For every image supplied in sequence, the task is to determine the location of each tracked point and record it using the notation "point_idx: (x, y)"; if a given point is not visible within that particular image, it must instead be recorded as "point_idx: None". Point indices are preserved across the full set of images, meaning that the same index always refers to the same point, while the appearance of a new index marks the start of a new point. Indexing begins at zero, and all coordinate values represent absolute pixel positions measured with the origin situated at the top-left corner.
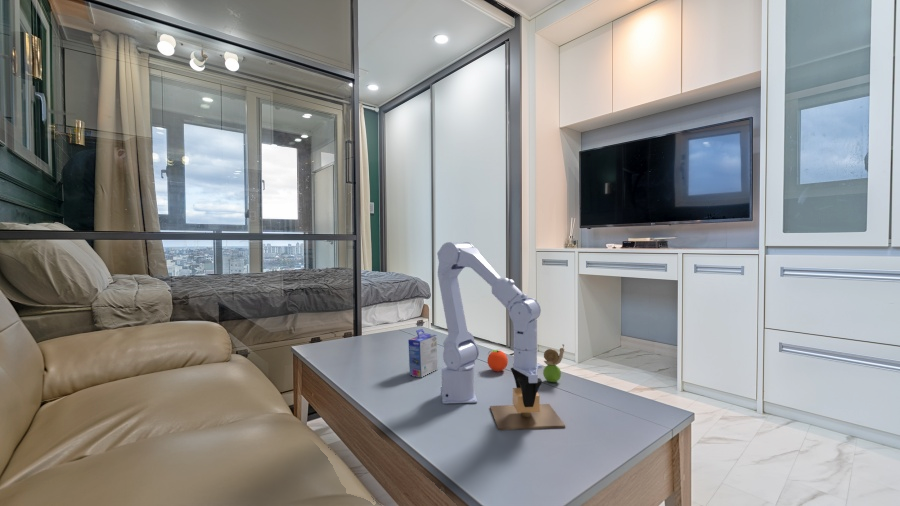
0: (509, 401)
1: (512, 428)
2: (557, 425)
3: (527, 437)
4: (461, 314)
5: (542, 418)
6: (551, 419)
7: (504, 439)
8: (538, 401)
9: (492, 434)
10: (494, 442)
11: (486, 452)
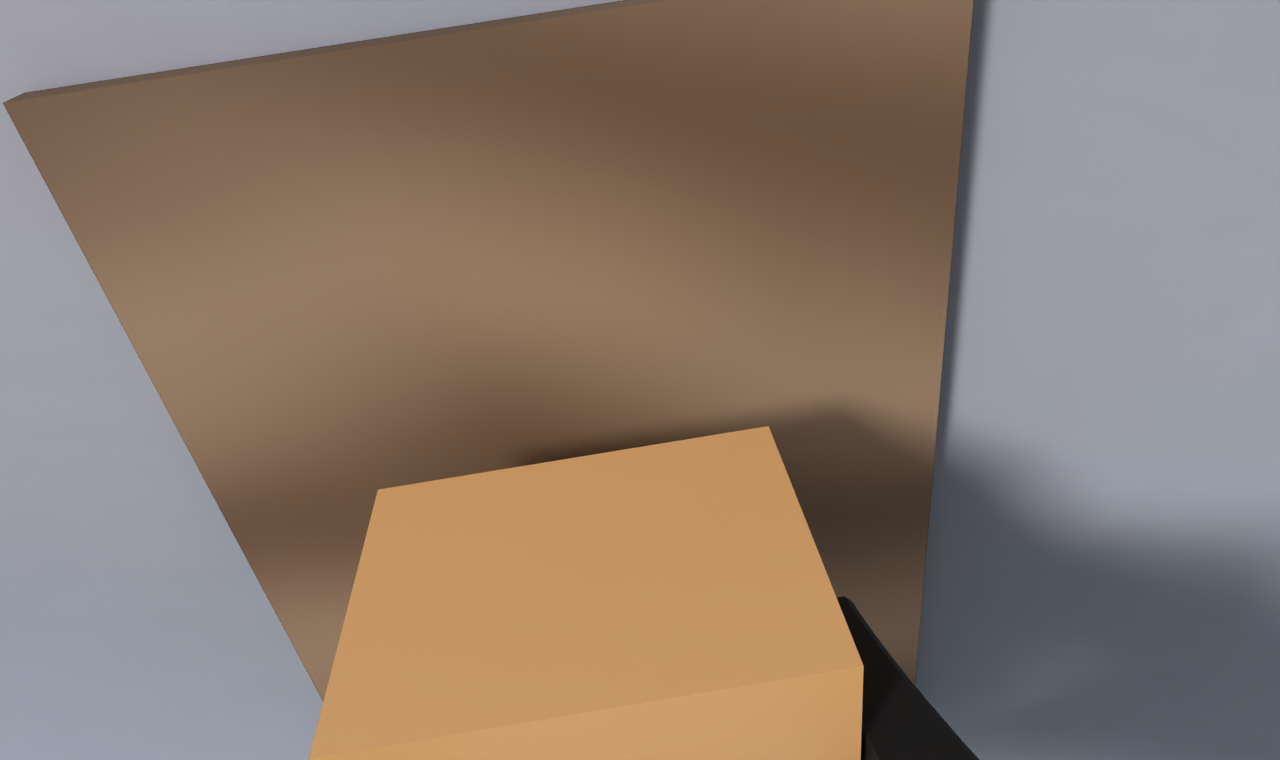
0: (112, 655)
1: (915, 626)
2: (952, 105)
3: (1103, 494)
4: None
5: (695, 309)
6: (734, 172)
7: (1083, 666)
8: (822, 577)
9: (972, 742)
10: (1110, 722)
11: (1235, 753)
